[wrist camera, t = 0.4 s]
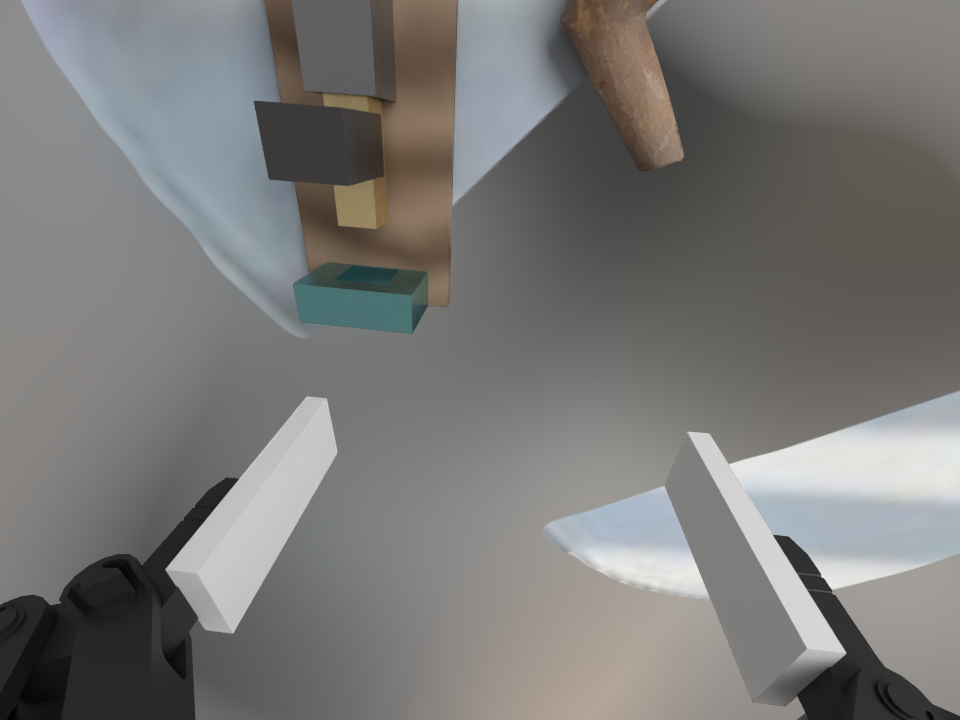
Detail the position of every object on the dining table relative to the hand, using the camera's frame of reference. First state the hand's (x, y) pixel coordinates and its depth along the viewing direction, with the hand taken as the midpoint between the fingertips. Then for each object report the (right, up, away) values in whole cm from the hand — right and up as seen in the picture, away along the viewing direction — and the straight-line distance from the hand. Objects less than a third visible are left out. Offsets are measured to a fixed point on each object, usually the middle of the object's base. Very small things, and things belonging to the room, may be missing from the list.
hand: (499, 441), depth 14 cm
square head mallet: (-10, +23, +15) cm, 30 cm away
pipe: (+12, +27, +14) cm, 32 cm away
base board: (-10, +21, +19) cm, 30 cm away
